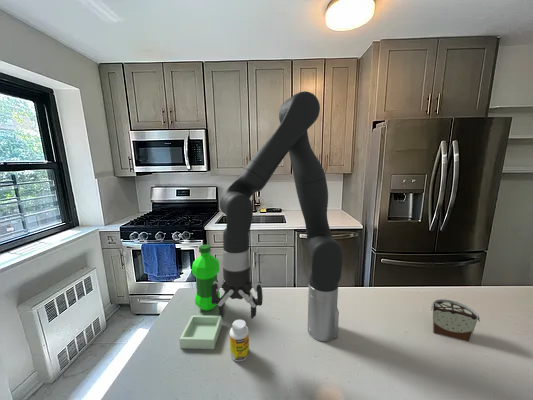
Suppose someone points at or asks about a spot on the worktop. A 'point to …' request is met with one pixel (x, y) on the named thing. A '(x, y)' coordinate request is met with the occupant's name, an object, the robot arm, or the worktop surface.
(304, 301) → the worktop surface
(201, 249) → the plastic bottle
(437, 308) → the mint chocolate cake slice
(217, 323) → the tray
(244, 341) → the supplement bottle
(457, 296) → the worktop surface
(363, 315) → the worktop surface
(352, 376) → the worktop surface
